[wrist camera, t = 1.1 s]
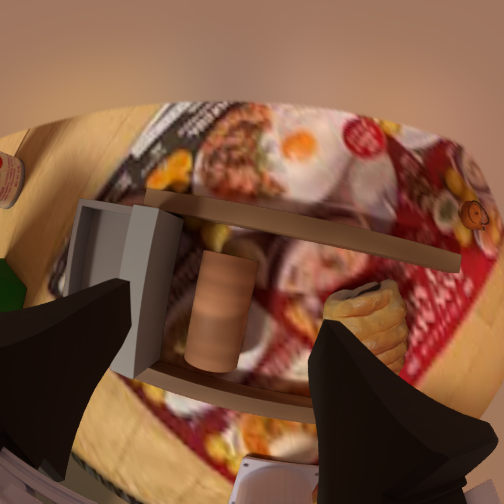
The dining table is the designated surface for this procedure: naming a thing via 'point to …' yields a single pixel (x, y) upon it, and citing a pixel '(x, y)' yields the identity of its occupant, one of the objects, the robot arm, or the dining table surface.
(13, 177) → the aerosol can
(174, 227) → the block
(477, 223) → the round teapot
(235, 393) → the rail
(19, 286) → the milk carton
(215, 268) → the roller
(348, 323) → the pastry
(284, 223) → the rail
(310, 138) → the dining table surface
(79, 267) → the cradle
